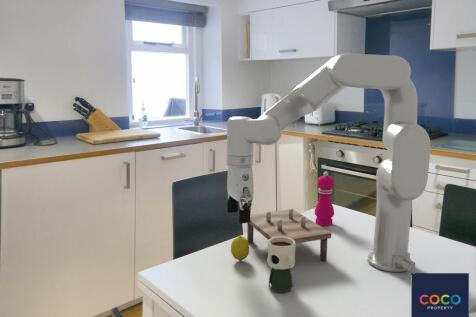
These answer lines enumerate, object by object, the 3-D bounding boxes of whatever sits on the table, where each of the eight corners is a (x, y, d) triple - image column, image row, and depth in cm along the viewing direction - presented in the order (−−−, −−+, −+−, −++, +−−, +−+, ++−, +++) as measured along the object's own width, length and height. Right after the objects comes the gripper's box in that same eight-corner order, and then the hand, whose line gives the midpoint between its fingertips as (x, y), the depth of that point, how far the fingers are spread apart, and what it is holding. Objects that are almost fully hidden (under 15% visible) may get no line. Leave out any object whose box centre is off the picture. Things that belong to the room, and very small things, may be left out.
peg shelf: (330, 261, 127) (331, 223, 124) (275, 271, 120) (276, 231, 118) (292, 233, 148) (293, 200, 146) (244, 240, 142) (244, 206, 140)
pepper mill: (319, 218, 164) (321, 168, 160) (337, 223, 159) (339, 171, 155) (310, 224, 158) (312, 171, 154) (328, 228, 154) (330, 174, 150)
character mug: (258, 281, 114) (259, 236, 112) (281, 276, 117) (282, 232, 115) (279, 301, 105) (280, 252, 102) (303, 294, 108) (305, 247, 105)
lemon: (240, 255, 131) (240, 231, 129) (253, 261, 127) (253, 235, 125) (227, 261, 127) (226, 235, 125) (240, 266, 123) (240, 241, 122)
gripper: (264, 165, 114) (262, 225, 118) (241, 154, 130) (239, 207, 133) (238, 167, 112) (236, 228, 115) (217, 155, 127) (217, 209, 131)
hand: (238, 217), depth 124 cm, fingers open, 9 cm apart
